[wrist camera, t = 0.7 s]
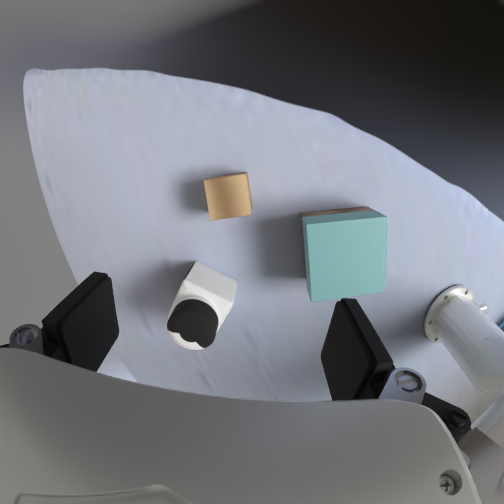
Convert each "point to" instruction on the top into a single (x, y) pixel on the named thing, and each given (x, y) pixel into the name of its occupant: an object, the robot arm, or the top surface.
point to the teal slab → (345, 254)
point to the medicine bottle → (200, 307)
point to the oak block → (228, 196)
